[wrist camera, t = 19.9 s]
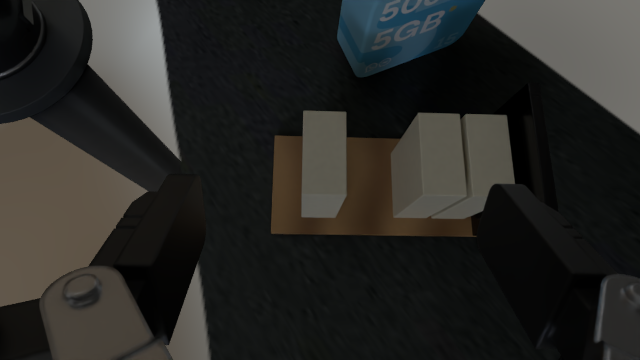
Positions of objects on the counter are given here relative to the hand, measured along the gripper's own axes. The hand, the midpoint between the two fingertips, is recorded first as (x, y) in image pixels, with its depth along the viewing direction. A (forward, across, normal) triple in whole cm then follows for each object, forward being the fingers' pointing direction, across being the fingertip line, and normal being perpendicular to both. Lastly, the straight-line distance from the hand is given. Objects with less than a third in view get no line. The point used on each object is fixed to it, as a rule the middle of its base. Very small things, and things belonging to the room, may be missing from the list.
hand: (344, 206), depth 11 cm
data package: (+33, -8, +2) cm, 34 cm away
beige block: (+21, 0, +12) cm, 25 cm away
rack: (+22, -6, +12) cm, 26 cm away
